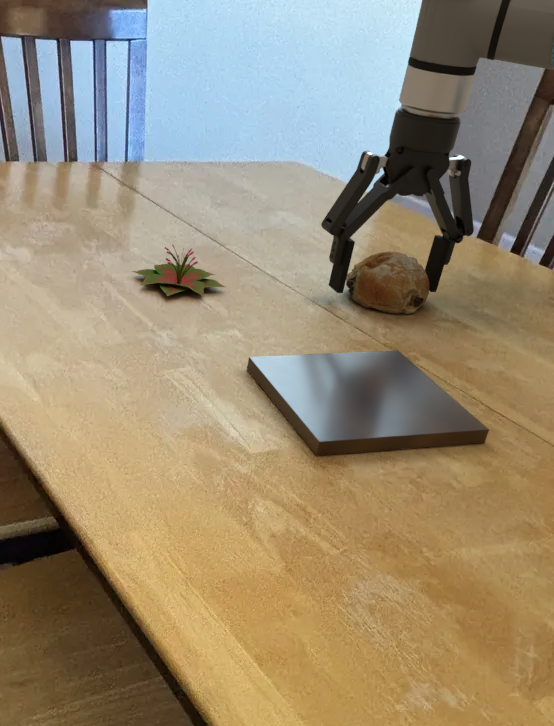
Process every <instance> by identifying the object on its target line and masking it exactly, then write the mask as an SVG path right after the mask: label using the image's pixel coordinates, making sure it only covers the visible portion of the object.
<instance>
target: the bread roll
mask: <svg viewBox="0 0 554 726" xmlns="http://www.w3.org/2000/svg"><path fill="white" fill-rule="evenodd" d="M345 286H346V287H347V288H348V294H349V296H350V297H351V299H352V300H353V301H354V302H356V303H357V304H359V305H360V306H362V307H363V308H366V309H374V310H376V311H378V312H379V311H380V312H383V313H388V314H396V315H397V314H398V315H399V314H404V315H410V314H414V313H415V312H417V311H418V309H419V308H420V307H422V305H424V304H425V303H426V300H427V298H428V296H429V293H430V291H429V280H428V276H427V274H426V271H425V268H424V267H423V265H422V264H420V263H419V261H418V259H417V258H416V257H415V256H408V255H407V254H405V253H402V252H398V251H382V252H377V253H374V254H371V255H370V256H368V257H365V258H364V259H362V260H361V261H359V262H358V263H355V264H353V268H352V269H351V271H348V274H347V278H346V282H345Z"/></svg>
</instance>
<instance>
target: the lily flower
mask: <svg viewBox="0 0 554 726" xmlns="http://www.w3.org/2000/svg"><path fill="white" fill-rule="evenodd" d="M171 246H172V247H173V249H174V251H175V255H176V256H175V255H174V254H173V253H172V251H171V250H170V249H169V248H168V247H167V246H164V248H163V249H165V250H166V254H168V255H170V256H171V257H172V259H173V261H174V262H175V264H174V263H173V262H171V260H170V259H169V258H167V257H165V260H166V262H167V263H161V264H154V265H153V267H154V269H151V268H144V269H139V270H131V272H132V273H135V274H138V275H139V276H143V277H144V279H143V282H142V283H140V284H139V286H144V285H145V286H146V285H151V284H152V285H153V284H159V287H160V289H161V290H162V291H163V292H164V294H166V297H169V296H172V295H175V294H177V293H180V292H184V291H187V290H188V288H189V289H190V290H191V291H193V292H194V293H197V294H199V295H200V296H202V297H204V296H205V295H204V294H205V293H204V292H205V290H204V289H205V288H226V286H225V285H223V284H221V283H219V281H217V280H215V279H211V278H208V277H211V276H216V274H215V273H212V272H209V271H206V270H204V269H201V268H196V267H195V265H197V264H198V263H199V261H198V260H196V261H194V260H195V259H196V256H194V257H192V258H191V260H190V261H189V262H188V259H189V257H190V256H192V255H193V254H194V251H193V248H190V249H189V250H188V251H187V253H186V254H185V255H184V254H183V253H184V252H182V255H181V256H182V258H181V260H180V256H179V254H178V253H177V250H176V247H175V245H174V244H172V245H171ZM184 250H185V248H183V249H182V251H184ZM193 261H194V262H193ZM187 262H188V263H187ZM192 262H193V263H192ZM191 263H192V264H191Z"/></svg>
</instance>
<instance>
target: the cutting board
mask: <svg viewBox="0 0 554 726" xmlns="http://www.w3.org/2000/svg"><path fill="white" fill-rule="evenodd" d="M247 360H248V361H247V365H246V370H247V372H248V373H249V374H250V375H251V377H252V378H253V380H255V381H256V383H257V384H258V385H259V387H260V388H261V389H262V390H263V391H264V393H265V394H266V395H267V397H268V398H269V399H270V400H271V401H272V403H273V405H275V407H276V408H277V409H278V411H279V412H281V414H282V415H283V416H284V417H285V419H286V420H287V421H288V423H289V424H290V425H291V426H292V428H293V429H294V430H295V431H296V432H297V434H298V435H299V436H300V438H301V439H302V441H304V442H305V444H306V445H307V446H308V447H309V449H310V450H311V451H312V453H313V454H314V455H315V456H317V457H319V456H320V457H321V456H334V455H344V454H359V453H372V452H373V453H374V452H384V451H385V452H386V451H396V450H399V451H400V450H409V449H422V448H435V447H437V448H438V447H449V446H462V445H475V444H476V445H477V444H485V443H486V440H487V437H488V436H489V435H488V434H489V433H490V429H489V428H488V427H487V426H486V425H485V424H484V423H482V421H480V420H479V419H478V418H477V417H475V416H474V415H473V414H472V413H471V412H470V411H468V409H466V408H465V407H464V406H463V405H462V404H461V403H459V402H458V401H457V400H456V399H455V398H453V396H452V395H450V394H449V393H448V392H447V391H446V390H444V389H443V388H442V387H441V386H440V385H439V384H438V383H436V382H435V381H434V380H433V379H432V378H431V377H430V376H428V375H427V374H426V373H425V372H424V371H423V370H421V368H419V367H418V366H417V365H416V364H415V363H414V362H413V361H411V360H410V359H409V358H408V357H407V356H406V355H404V354H403V353H402V352H401V351H399V350H397V349H396V350H377V351H376V350H375V351H373V350H372V351H353V352H350V351H349V352H330V353H329V352H327V353H308V354H285V355H284V354H283V355H282V354H281V355H263V356H261V355H260V356H259V355H258V356H248V359H247Z"/></svg>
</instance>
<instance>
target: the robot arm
mask: <svg viewBox="0 0 554 726" xmlns="http://www.w3.org/2000/svg"><path fill="white" fill-rule="evenodd" d="M420 4H421V5H420V8H419V12H418V17H417V22H416V26H415V30H414V35H413V39H412V43H411V48H410V53H409V56H408V60H407V65H406V69H405V74H404V77H403V82H402V85H401V89H400V94H399V98H398V101H399V103H400V104H401V106H399V107H398V108H397V109H396V110H395V112H394V117H393V121H392V124H391V125H392V126H391V129H390V134H389V139H388V143H389V145H388V149H387V151H386V152H385V154H384V155H381V154H375V153H373V152H371V151H370V150H363V152H361V155H360V158H359V161H358V164H357V167H356V170H355V171H354V173H353V174H352V176H351V177H350V179H349V180H348V182H347V183H346V185H345V186H344V188H343V189H342V191H341V192H340V194H339V196H338V197H337V198H336V200H335V201H334V203H333V205H332V206H331V208H330V209H329V210H328V212H327V214H326V215H325V217H324V219H323V220H322V221H321V224H320V225H321V228H322V230H324V231H325V232H327V233H328V234H329V235H330V236H333V239H332V241H331V247H330V253H329V256H328V258H329V262H330V263H331V264H332V267H331V273H330V277H329V281H328V287H330V288H331V289H332V290H333V291H334V292H336V293H337V294H344V290H345V286H346V278H347V274H348V273H349V270H350V264H351V260H352V256H353V252H354V248H355V244H356V241H355V240H354V239H352V237H353V236H354V234H355V233H356V232H358V231H359V229H360V228H362V227H363V226H364V224H366V222H368V221H369V220H370V218H371V217H372V216H373V215H374V214H375V213H376V212H377V211H378V210H380V208H381V207H382V206H384V204H385V203H387V201H390V200H393V198H395V197H396V196H397V195H398V196H400V197H407V196H411V195H413V196H415V197H424V196H425V198H426V200H427V203H428V205H429V207H430V210H431V212H432V214H433V216H434V218H435V221H436V224H437V226H438V228H439V231H440V233H441V234H442V235H439V234H434V237H433V240H432V244H431V247H430V251H429V254H428V257H427V261H426V264H425V268H424V270H425V271H426V274H427V276H428V280H429V293H430V292H431V293H437V290H438V287H439V284H440V281H441V277H442V273H443V270H444V268H445V267H444V266H448V265H449V263H450V262H451V259H452V255H453V252H454V249H455V245H456V244H460V243H462V242H463V240H464V237H470V236H472V235H473V234H474V231H475V227H474V219H473V210H472V209H473V208H472V200H471V191H470V182H469V181H470V180H469V177H470V172H471V169H472V168H471V167H472V160H471V159H470V158H468V157H466V156H464V155H462V154H460V153H455V154H454V155H453V156H451V157H450V153H451V152H452V151H453V150H454V147H455V144H456V141H457V139H458V138H457V137H458V134H459V131H460V128H461V123H462V120H461V118H460V116H459V114H463V112H465V110H466V107H467V103H468V100H469V96H470V92H471V88H472V85H473V82H474V78H475V74H476V71H477V65H478V62H479V61H480V59H486V60H490V61H495V60H496V61H501V62H505V63H506V62H507V63H511V64H517V65H523V66H529V67H534V68H541V69H545V70H552V71H554V0H421V3H420ZM381 169H382V171H383V174H381V175H380V177H379V178H377V179H376V181H374V182H373V180H374V178H375V177H376V175H377V174H379V173H380V172H381ZM446 173H447V175H448V182H449V188H450V199H451V205H452V206H451V207H452V212H451V208H450V207H449V203H448V201H447V199H446V197H445V194H446V193H445V191H444V187H443V186H442V183H441V181H440V180H441V178H442V177H443V176H444V175H445V174H446ZM372 182H373V184H372ZM371 184H372V188H371V189H370V190H369V191H368V192H367V193H366V191H367V190H368V188H369V187H370V186H371ZM365 193H366V194H365ZM364 194H365V195H364ZM452 213H453V214H452Z"/></svg>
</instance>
